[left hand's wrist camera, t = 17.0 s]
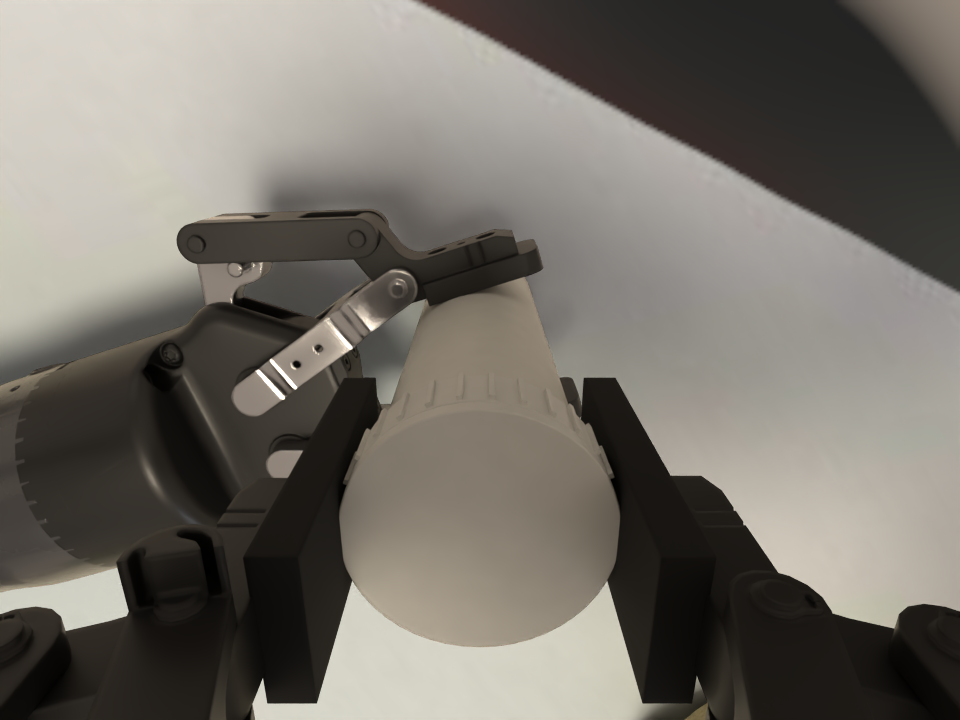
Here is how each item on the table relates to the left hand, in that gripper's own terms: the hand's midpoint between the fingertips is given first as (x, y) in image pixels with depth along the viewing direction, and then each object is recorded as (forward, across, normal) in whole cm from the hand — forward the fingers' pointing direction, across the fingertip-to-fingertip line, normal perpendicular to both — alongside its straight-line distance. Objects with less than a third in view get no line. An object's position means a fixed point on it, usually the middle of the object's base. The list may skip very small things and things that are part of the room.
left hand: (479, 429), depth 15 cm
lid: (-4, 0, 0) cm, 4 cm away
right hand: (+6, -2, -1) cm, 6 cm away
